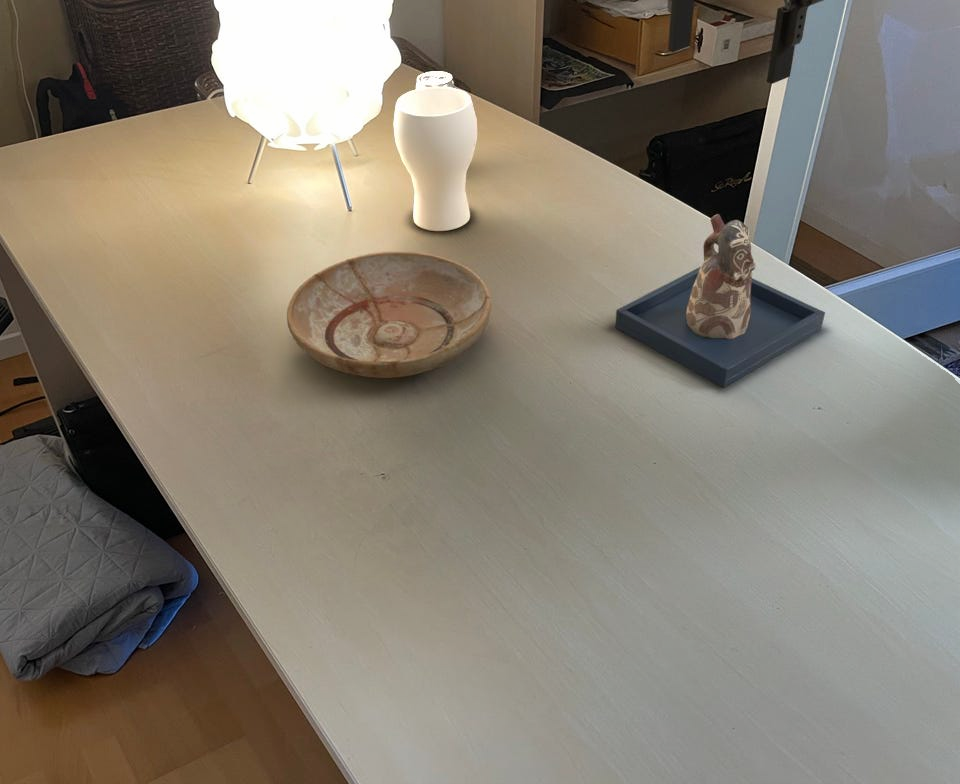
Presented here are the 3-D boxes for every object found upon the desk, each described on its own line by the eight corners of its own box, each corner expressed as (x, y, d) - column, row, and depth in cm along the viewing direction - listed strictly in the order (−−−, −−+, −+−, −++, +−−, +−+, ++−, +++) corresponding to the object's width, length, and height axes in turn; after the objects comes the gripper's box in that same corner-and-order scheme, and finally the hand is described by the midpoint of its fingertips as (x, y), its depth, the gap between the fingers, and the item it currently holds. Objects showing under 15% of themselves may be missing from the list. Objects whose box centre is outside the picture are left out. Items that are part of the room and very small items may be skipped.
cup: (393, 233, 133) (380, 115, 122) (415, 197, 140) (405, 82, 129) (470, 239, 131) (464, 120, 120) (488, 203, 138) (484, 86, 127)
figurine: (716, 346, 111) (732, 243, 102) (672, 320, 115) (684, 219, 106) (761, 324, 113) (781, 222, 104) (717, 299, 117) (732, 199, 108)
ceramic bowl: (259, 384, 111) (250, 344, 107) (340, 279, 126) (334, 241, 122) (455, 413, 106) (453, 373, 102) (515, 300, 120) (515, 262, 117)
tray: (821, 330, 114) (825, 312, 112) (723, 388, 107) (726, 369, 105) (711, 277, 122) (713, 259, 121) (614, 327, 116) (616, 309, 114)
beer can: (460, 158, 148) (455, 70, 139) (457, 174, 144) (451, 85, 135) (424, 158, 148) (417, 71, 139) (420, 174, 145) (412, 85, 136)
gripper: (629, -205, 94) (617, 45, 109) (848, -176, 80) (799, 104, 96) (684, -218, 97) (664, 28, 112) (904, -192, 83) (847, 83, 99)
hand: (726, 63), depth 104 cm, fingers open, 13 cm apart
